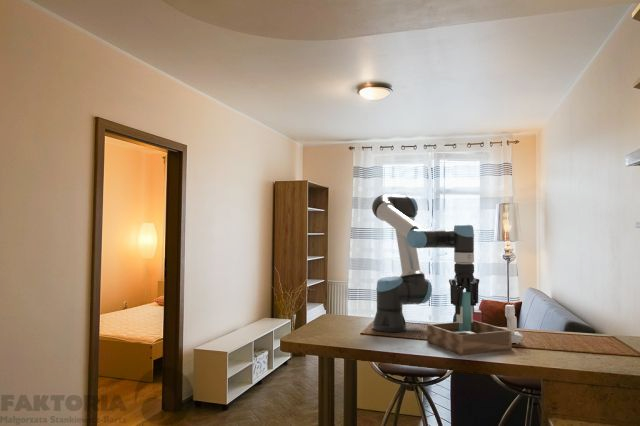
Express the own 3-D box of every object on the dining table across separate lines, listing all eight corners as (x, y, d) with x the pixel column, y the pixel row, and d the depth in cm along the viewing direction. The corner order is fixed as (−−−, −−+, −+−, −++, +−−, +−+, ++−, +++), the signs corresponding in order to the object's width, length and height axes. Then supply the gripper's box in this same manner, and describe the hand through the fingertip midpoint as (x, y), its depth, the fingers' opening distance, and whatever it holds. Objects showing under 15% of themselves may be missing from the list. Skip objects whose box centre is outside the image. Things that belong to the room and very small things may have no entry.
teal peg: (464, 331, 167) (463, 293, 167) (456, 329, 171) (456, 291, 171) (473, 330, 168) (472, 292, 169) (465, 328, 172) (465, 291, 173)
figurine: (504, 344, 169) (504, 306, 170) (498, 339, 178) (498, 302, 179) (524, 345, 168) (523, 307, 169) (517, 339, 177) (516, 303, 178)
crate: (427, 342, 172) (427, 324, 173) (474, 337, 181) (474, 320, 182) (460, 355, 154) (460, 335, 154) (511, 349, 163) (511, 330, 163)
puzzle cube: (482, 335, 184) (482, 312, 185) (458, 334, 186) (458, 311, 187) (478, 330, 194) (478, 308, 194) (455, 329, 196) (455, 307, 196)
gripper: (452, 264, 164) (453, 325, 163) (488, 263, 171) (488, 322, 169) (440, 263, 171) (440, 321, 170) (474, 262, 178) (475, 318, 176)
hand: (464, 322), depth 170 cm, fingers closed on teal peg, 4 cm apart
